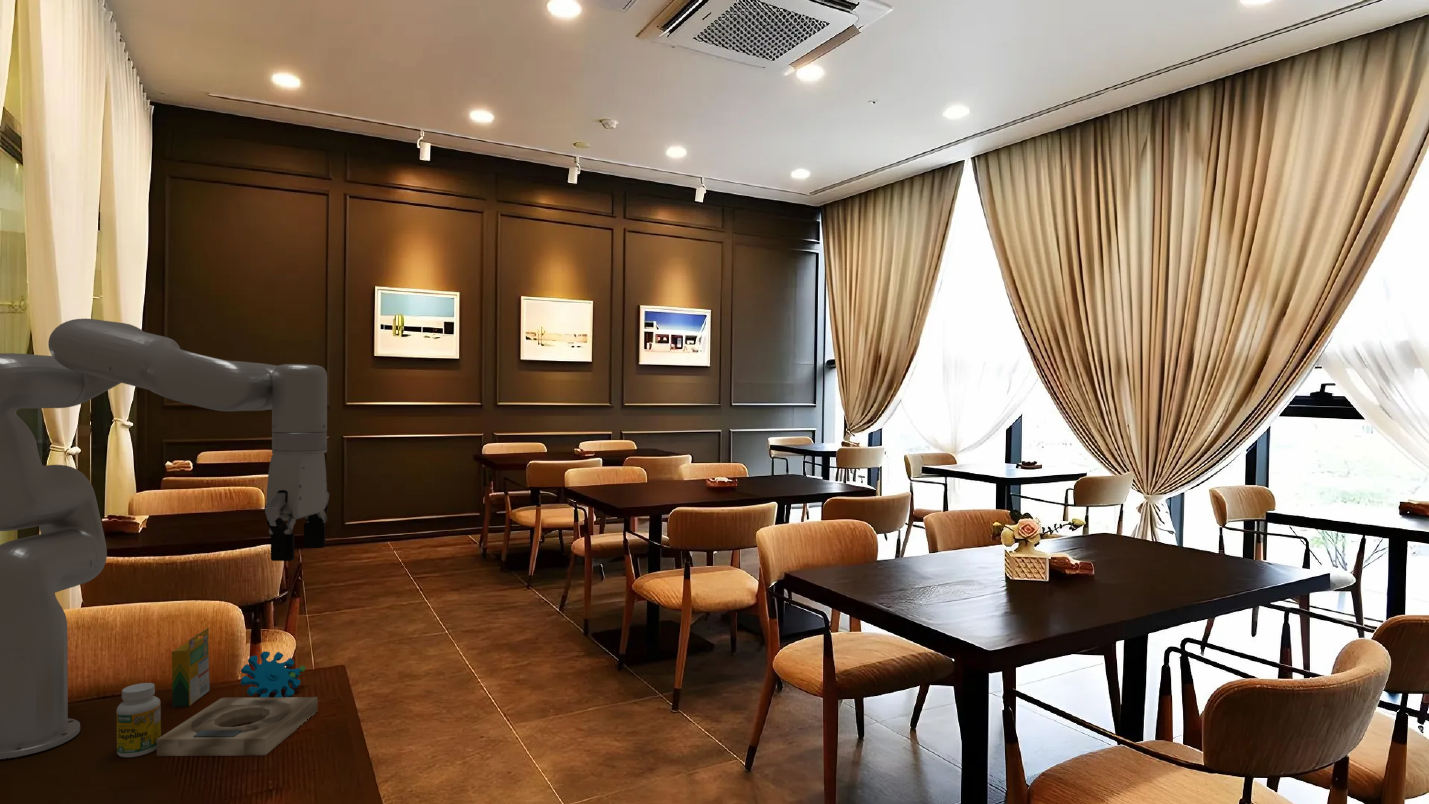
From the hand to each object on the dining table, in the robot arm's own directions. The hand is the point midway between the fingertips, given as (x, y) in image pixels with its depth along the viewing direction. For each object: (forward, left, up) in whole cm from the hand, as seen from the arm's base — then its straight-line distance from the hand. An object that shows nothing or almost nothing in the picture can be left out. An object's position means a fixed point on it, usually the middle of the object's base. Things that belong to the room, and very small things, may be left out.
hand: (299, 553), depth 120 cm
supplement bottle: (-23, -3, -30) cm, 37 cm away
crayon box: (-28, +17, -30) cm, 44 cm away
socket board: (-11, +3, -29) cm, 31 cm away
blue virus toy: (-14, +18, -30) cm, 37 cm away
